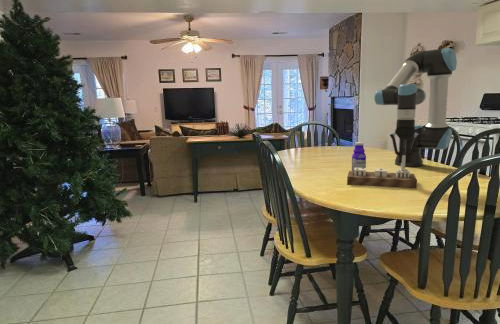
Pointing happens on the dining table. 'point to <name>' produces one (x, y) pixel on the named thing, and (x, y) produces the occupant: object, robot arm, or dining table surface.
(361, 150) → the bottle
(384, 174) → the cream block
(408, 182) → the keyboard base
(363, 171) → the key two
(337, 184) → the dining table surface
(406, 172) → the key three
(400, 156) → the robot arm
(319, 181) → the dining table surface
